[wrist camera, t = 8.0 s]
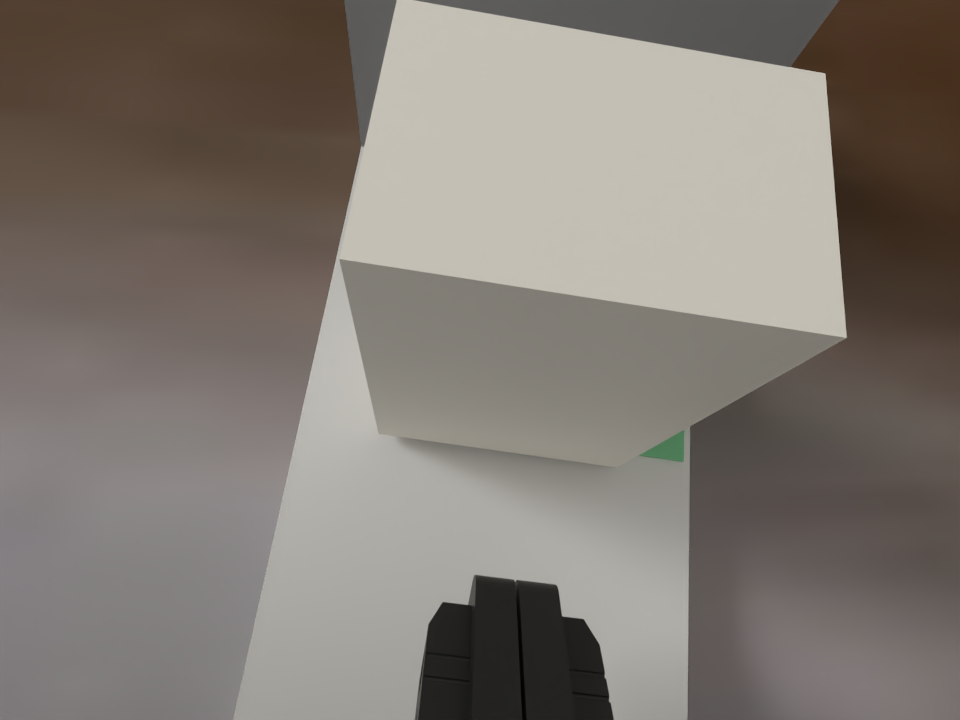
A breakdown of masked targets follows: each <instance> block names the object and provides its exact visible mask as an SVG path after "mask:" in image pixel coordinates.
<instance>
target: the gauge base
mask: <svg viewBox="0 0 960 720" xmlns="http://www.w3.org/2000/svg"><path fill="white" fill-rule="evenodd" d="M396 1H397V0H345V9H346V17H347V26H348V34H349V43H350V52H351V60H352V69H353V77H354V86H355V95H356V103H357V112H358V120H359V129H360V138H361V151H360V155H359V160H358V164H357V169H356V173H355V178H354V182H353V187H352V191H351V195H350V200H349V204H348V209H347V213H346V218H345V222H344V227H343V231H342V236H341V240H340V245H339V249H338V253H337V258H336V262H335V267H334V271H333V276H332V280H331V285H330V289H329V294H328V298H327V303H326V307H325V311H324V316H323V320H322V325H321V329H320V334H319V338H318V343H317V347H316V352H315V356H314V361H313V365H312V369H311V374H310V378H309V383H308V387H307V392H306V396H305V401H304V405H303V410H302V414H301V419H300V423H299V427H298V432H297V436H296V441H295V445H294V450H293V454H292V459H291V463H290V468H289V472H288V477H287V481H286V485H285V490H284V494H283V499H282V503H281V508H280V512H279V517H278V521H277V526H276V530H275V535H274V539H273V543H272V548H271V552H270V557H269V561H268V566H267V570H266V575H265V579H264V584H263V588H262V593H261V597H260V601H259V606H258V610H257V615H256V619H255V624H254V628H253V633H252V637H251V642H250V646H249V651H248V655H247V659H246V664H245V668H244V673H243V677H242V682H241V686H240V691H239V695H238V700H237V704H236V709H235V713H234V717H233V720H415V714H416V704H417V695H418V686H419V679H420V673H421V667H422V661H423V655H424V648H425V642H426V636H427V630H428V624H429V623H430V621H431V619H432V618H433V616H434V615H435V613H436V612H437V610H438V609H439V607H440V605H441V604H442V602H448V603H456V604H464V605H468V602H469V597H470V592H471V587H472V582H473V578H474V575H481V576H489V577H497V578H505V579H513V580H514V581H516V580H523V581H531V582H539V583H547V584H555V585H557V587H558V590H559V597H560V605H561V612H562V616H563V617H572V618H580V619H584V620H585V622H586V624H587V625H588V627H589V628H590V630H591V632H592V633H593V635H594V636H595V638H596V640H597V641H598V643H599V644H600V649H601V654H602V659H603V665H604V670H605V679H606V681H607V686H608V691H609V702H610V703H611V707H612V712H613V718H614V720H687V713H688V603H689V493H690V427H688V428H686V429H685V430H683V431H681V432H679V433H677V434H676V435H674V436H672V437H670V438H669V439H667V440H665V441H663V442H662V443H660V444H658V445H656V446H654V447H653V448H651V449H649V450H647V451H646V452H644V453H642V454H640V455H639V456H637V457H635V458H633V459H631V460H630V461H628V462H626V463H624V464H623V465H621V466H619V467H617V468H616V467H609V466H602V465H595V464H588V463H581V462H574V461H567V460H560V459H553V458H545V457H538V456H531V455H524V454H517V453H510V452H503V451H496V450H489V449H482V448H475V447H468V446H461V445H454V444H446V443H439V442H432V441H425V440H418V439H411V438H404V437H397V436H390V435H383V434H379V433H378V429H377V424H376V420H375V416H374V411H373V407H372V402H371V398H370V393H369V389H368V385H367V380H366V376H365V371H364V367H363V362H362V358H361V353H360V349H359V345H358V340H357V336H356V331H355V327H354V322H353V318H352V314H351V309H350V305H349V300H348V296H347V291H346V287H345V282H344V278H343V274H342V269H341V265H340V260H339V258H340V253H341V249H342V244H343V240H344V235H345V231H346V226H347V222H348V217H349V213H350V208H351V204H352V199H353V195H354V190H355V186H356V181H357V177H358V172H359V168H360V163H361V159H362V154H363V150H364V145H365V141H366V136H367V132H368V127H369V123H370V118H371V114H372V109H373V105H374V100H375V96H376V91H377V87H378V82H379V78H380V73H381V69H382V64H383V60H384V55H385V51H386V46H387V42H388V37H389V33H390V28H391V24H392V19H393V15H394V10H395V6H396ZM415 1H421V2H426V3H432V4H438V5H443V6H449V7H454V8H460V9H466V10H471V11H477V12H482V13H488V14H494V15H499V16H505V17H510V18H516V19H522V20H527V21H533V22H538V23H544V24H550V25H555V26H561V27H567V28H572V29H578V30H583V31H589V32H595V33H600V34H606V35H611V36H617V37H623V38H628V39H634V40H639V41H645V42H651V43H656V44H662V45H667V46H673V47H679V48H684V49H690V50H696V51H701V52H707V53H712V54H718V55H724V56H729V57H735V58H740V59H746V60H752V61H757V62H763V63H768V64H774V65H780V66H785V67H791V65H792V64H793V63H794V61H795V60H796V58H797V57H798V56H799V54H800V53H801V52H802V50H803V49H804V47H805V46H806V45H807V43H808V42H809V41H810V39H811V38H812V37H813V35H814V34H815V32H816V31H817V30H818V28H819V27H820V26H821V24H822V23H823V22H824V20H825V19H826V17H827V16H828V15H829V13H830V12H831V11H832V9H833V8H834V7H835V5H836V4H837V2H838V1H839V0H415Z"/></svg>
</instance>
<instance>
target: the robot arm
mask: <svg viewBox="0 0 960 720" xmlns="http://www.w3.org/2000/svg"><path fill="white" fill-rule="evenodd" d="M415 720H614V718H613V712H612V707H611V703H610V702H609V691H608V686H607V681H606V679H605V670H604V665H603V659H602V654H601V649H600V644H599V643H598V641H597V640H596V638H595V636H594V635H593V633H592V632H591V630H590V628H589V627H588V625H587V624H586V622H585V620H584V619H580V618H572V617H563V616H562V612H561V605H560V597H559V590H558V587H557V585H555V584H547V583H539V582H531V581H523V580H516V581H514V580H513V579H505V578H497V577H489V576H481V575H474V578H473V582H472V587H471V592H470V597H469V602H468V605H464V604H456V603H448V602H442V604H441V605H440V607H439V609H438V610H437V612H436V613H435V615H434V616H433V618H432V619H431V621H430V623H429V624H428V630H427V636H426V642H425V648H424V655H423V661H422V667H421V673H420V679H419V686H418V695H417V704H416V714H415Z"/></svg>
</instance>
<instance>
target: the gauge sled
mask: <svg viewBox="0 0 960 720" xmlns="http://www.w3.org/2000/svg"><path fill="white" fill-rule="evenodd" d="M339 260H340V265H341V269H342V274H343V278H344V282H345V287H346V291H347V296H348V300H349V305H350V309H351V314H352V318H353V322H354V327H355V331H356V336H357V340H358V345H359V349H360V353H361V358H362V362H363V367H364V371H365V376H366V380H367V385H368V389H369V393H370V398H371V402H372V407H373V411H374V416H375V420H376V424H377V429H378V433H379V434H383V435H390V436H397V437H404V438H411V439H418V440H425V441H432V442H439V443H446V444H454V445H461V446H468V447H475V448H482V449H489V450H496V451H503V452H510V453H517V454H524V455H531V456H538V457H545V458H553V459H560V460H567V461H574V462H581V463H588V464H595V465H602V466H609V467H616V468H617V467H619V466H621V465H623V464H624V463H626V462H628V461H630V460H631V459H633V458H635V457H637V456H639V455H640V454H642V453H644V452H646V451H647V450H649V449H651V448H653V447H654V446H656V445H658V444H660V443H662V442H663V441H665V440H667V439H669V438H670V437H672V436H674V435H676V434H677V433H679V432H681V431H683V430H685V429H686V428H688V427H690V426H692V425H693V424H695V423H697V422H699V421H700V420H702V419H704V418H706V417H708V416H709V415H711V414H713V413H715V412H716V411H718V410H720V409H722V408H723V407H725V406H727V405H729V404H731V403H732V402H734V401H736V400H738V399H739V398H741V397H743V396H745V395H746V394H748V393H750V392H752V391H754V390H755V389H757V388H759V387H761V386H762V385H764V384H766V383H768V382H769V381H771V380H773V379H775V378H777V377H778V376H780V375H782V374H784V373H785V372H787V371H789V370H791V369H792V368H794V367H796V366H798V365H800V364H801V363H803V362H805V361H807V360H808V359H810V358H812V357H814V356H815V355H817V354H819V353H821V352H823V351H824V350H826V349H828V348H830V347H831V346H833V345H835V344H837V343H838V342H840V341H842V340H844V339H845V338H847V336H846V324H845V311H844V299H843V286H842V274H841V262H840V249H839V237H838V225H837V212H836V200H835V187H834V175H833V163H832V150H831V138H830V126H829V113H828V101H827V89H826V76H825V74H824V73H819V72H813V71H808V70H802V69H796V68H791V67H785V66H780V65H774V64H768V63H763V62H757V61H752V60H746V59H740V58H735V57H729V56H724V55H718V54H712V53H707V52H701V51H696V50H690V49H684V48H679V47H673V46H667V45H662V44H656V43H651V42H645V41H639V40H634V39H628V38H623V37H617V36H611V35H606V34H600V33H595V32H589V31H583V30H578V29H572V28H567V27H561V26H555V25H550V24H544V23H538V22H533V21H527V20H522V19H516V18H510V17H505V16H499V15H494V14H488V13H482V12H477V11H471V10H466V9H460V8H454V7H449V6H443V5H438V4H432V3H426V2H421V1H415V0H397V1H396V6H395V10H394V15H393V19H392V24H391V28H390V33H389V37H388V42H387V46H386V51H385V55H384V60H383V64H382V69H381V73H380V78H379V82H378V87H377V91H376V96H375V100H374V105H373V109H372V114H371V118H370V123H369V127H368V132H367V136H366V141H365V145H364V150H363V154H362V159H361V163H360V168H359V172H358V177H357V181H356V186H355V190H354V195H353V199H352V204H351V208H350V213H349V217H348V222H347V226H346V231H345V235H344V240H343V244H342V249H341V253H340V258H339Z"/></svg>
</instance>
